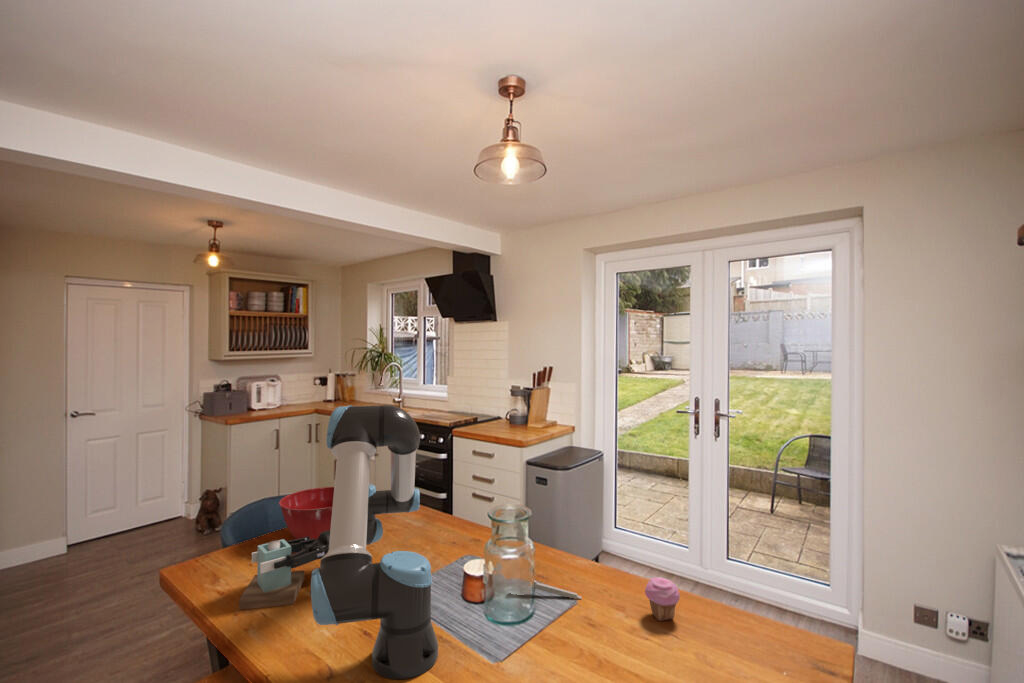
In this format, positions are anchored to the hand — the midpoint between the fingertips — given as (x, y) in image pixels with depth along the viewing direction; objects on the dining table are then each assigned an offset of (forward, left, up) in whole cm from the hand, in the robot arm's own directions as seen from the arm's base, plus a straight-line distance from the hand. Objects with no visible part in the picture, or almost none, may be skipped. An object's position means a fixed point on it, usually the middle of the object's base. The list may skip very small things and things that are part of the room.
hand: (256, 563), depth 136 cm
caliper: (-15, -82, -11) cm, 84 cm away
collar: (+2, -4, -8) cm, 9 cm away
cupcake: (-32, -110, -11) cm, 115 cm away
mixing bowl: (+43, -10, -11) cm, 46 cm away
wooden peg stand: (+2, -4, -10) cm, 12 cm away
